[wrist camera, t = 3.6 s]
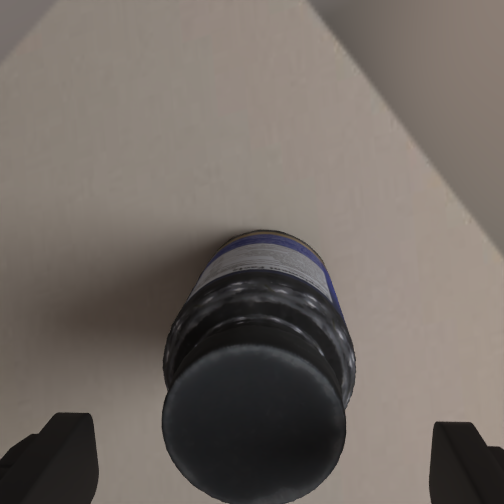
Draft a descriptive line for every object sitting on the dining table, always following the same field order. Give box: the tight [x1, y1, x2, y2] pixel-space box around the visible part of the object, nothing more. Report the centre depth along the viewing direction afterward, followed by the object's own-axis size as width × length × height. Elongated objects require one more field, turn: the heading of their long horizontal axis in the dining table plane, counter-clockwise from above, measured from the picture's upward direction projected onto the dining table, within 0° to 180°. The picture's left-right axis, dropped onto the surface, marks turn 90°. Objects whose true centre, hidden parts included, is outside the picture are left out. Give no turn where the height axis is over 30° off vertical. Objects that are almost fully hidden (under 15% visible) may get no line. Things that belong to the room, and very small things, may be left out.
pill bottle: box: [162, 230, 356, 504], centre depth 17 cm, size 6×6×11 cm
